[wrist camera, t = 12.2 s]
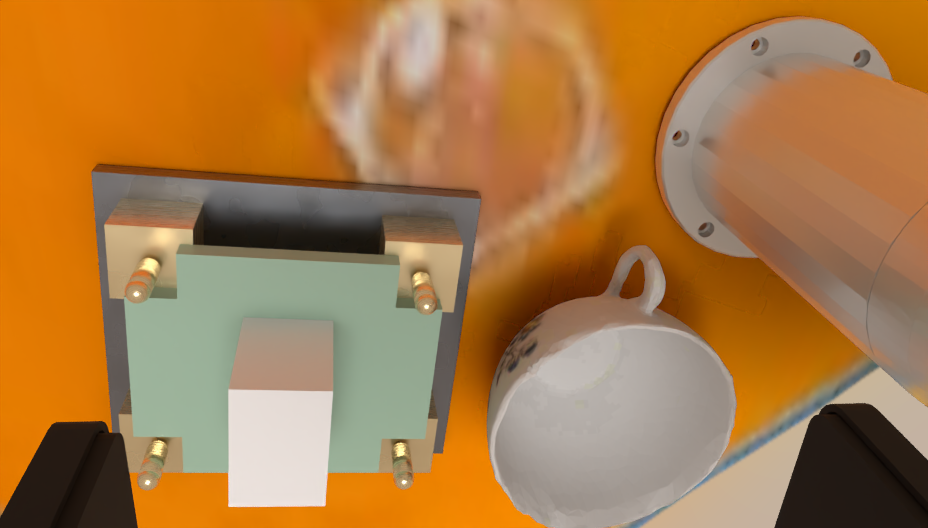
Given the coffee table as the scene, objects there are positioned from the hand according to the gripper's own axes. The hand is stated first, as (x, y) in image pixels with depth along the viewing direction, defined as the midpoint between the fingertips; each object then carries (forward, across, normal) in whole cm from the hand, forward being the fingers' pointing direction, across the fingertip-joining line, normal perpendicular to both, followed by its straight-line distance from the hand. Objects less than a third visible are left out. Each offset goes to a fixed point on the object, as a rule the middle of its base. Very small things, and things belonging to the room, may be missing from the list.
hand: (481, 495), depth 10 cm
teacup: (+29, -11, +15) cm, 34 cm away
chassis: (+28, +5, +14) cm, 32 cm away
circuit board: (+24, +5, +14) cm, 28 cm away
